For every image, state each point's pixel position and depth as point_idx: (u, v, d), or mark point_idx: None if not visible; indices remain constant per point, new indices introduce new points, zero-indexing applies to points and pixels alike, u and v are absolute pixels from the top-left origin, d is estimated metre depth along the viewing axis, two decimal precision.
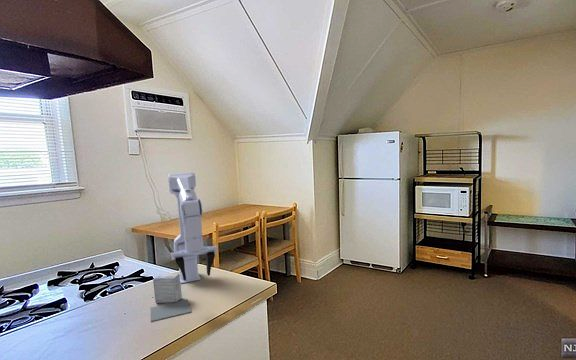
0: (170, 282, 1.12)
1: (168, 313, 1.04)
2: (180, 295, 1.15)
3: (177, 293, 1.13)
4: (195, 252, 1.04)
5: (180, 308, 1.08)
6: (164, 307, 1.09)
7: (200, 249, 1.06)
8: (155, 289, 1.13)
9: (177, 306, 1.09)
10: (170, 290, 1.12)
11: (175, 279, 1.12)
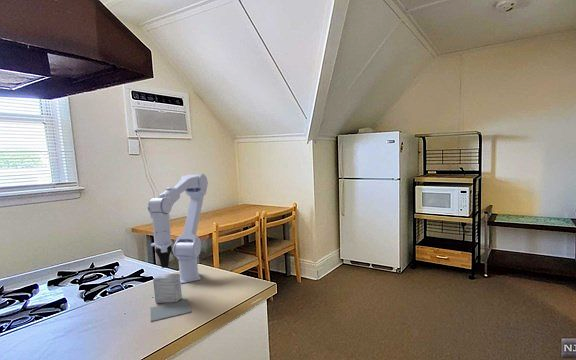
0: (170, 282, 1.12)
1: (168, 313, 1.04)
2: (180, 295, 1.15)
3: (177, 293, 1.13)
4: (152, 243, 1.18)
5: (180, 308, 1.08)
6: (164, 307, 1.09)
7: (156, 243, 1.16)
8: (155, 289, 1.13)
9: (177, 306, 1.09)
10: (170, 290, 1.12)
11: (175, 279, 1.12)
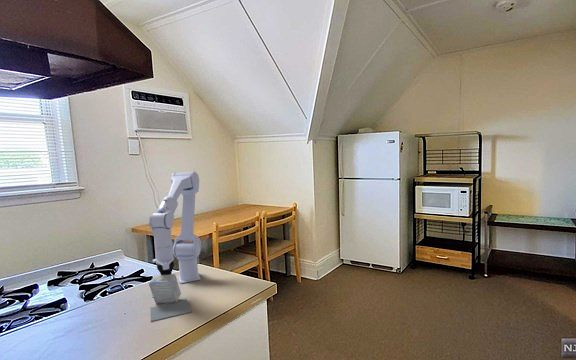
0: (167, 285, 1.10)
1: (168, 313, 1.04)
2: (179, 293, 1.14)
3: (175, 293, 1.12)
4: (154, 259, 1.14)
5: (180, 308, 1.08)
6: (164, 307, 1.09)
7: (157, 259, 1.13)
8: (153, 292, 1.11)
9: (177, 306, 1.09)
10: (168, 292, 1.11)
11: (171, 282, 1.10)
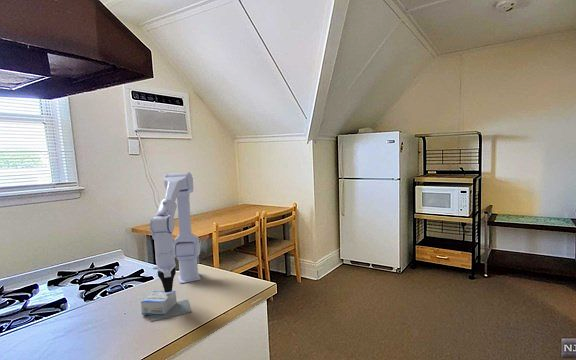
0: None
1: (168, 313, 1.04)
2: (174, 295, 1.11)
3: (172, 303, 1.09)
4: (154, 266, 1.07)
5: (180, 308, 1.08)
6: None
7: (158, 266, 1.06)
8: None
9: (177, 306, 1.09)
10: None
11: (165, 311, 1.04)
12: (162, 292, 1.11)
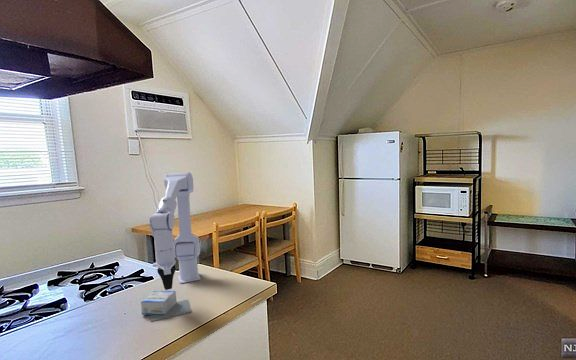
0: None
1: (168, 313, 1.04)
2: (174, 295, 1.11)
3: (172, 303, 1.09)
4: (154, 263, 1.07)
5: (180, 308, 1.08)
6: None
7: (158, 263, 1.06)
8: None
9: (177, 306, 1.09)
10: None
11: (165, 311, 1.04)
12: (162, 292, 1.11)
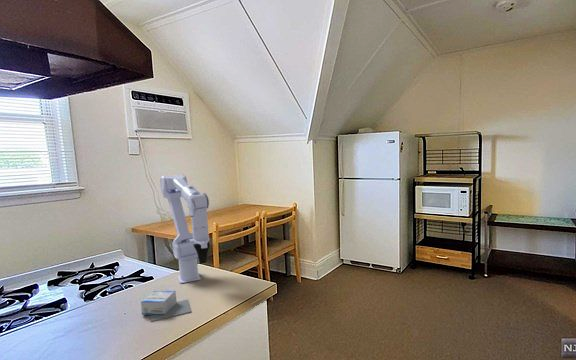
0: None
1: (168, 313, 1.04)
2: (174, 295, 1.11)
3: (172, 303, 1.09)
4: (191, 239, 1.20)
5: (180, 308, 1.08)
6: None
7: (195, 239, 1.18)
8: None
9: (177, 306, 1.09)
10: None
11: (165, 311, 1.04)
12: (162, 292, 1.11)
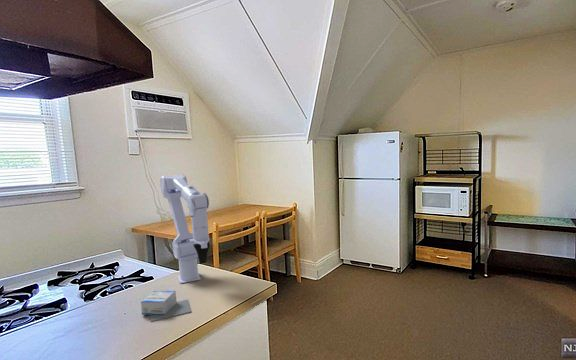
0: None
1: (168, 313, 1.04)
2: (174, 295, 1.11)
3: (172, 303, 1.09)
4: (191, 239, 1.20)
5: (180, 308, 1.08)
6: None
7: (195, 239, 1.18)
8: None
9: (177, 306, 1.09)
10: None
11: (165, 311, 1.04)
12: (162, 292, 1.11)
